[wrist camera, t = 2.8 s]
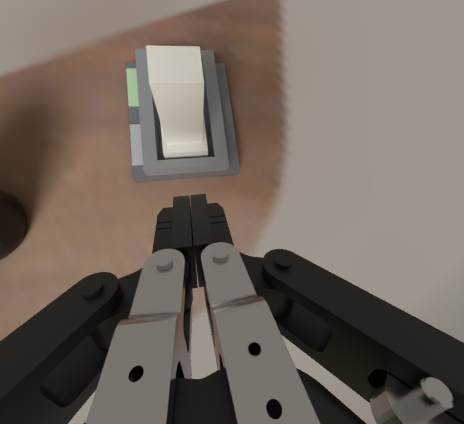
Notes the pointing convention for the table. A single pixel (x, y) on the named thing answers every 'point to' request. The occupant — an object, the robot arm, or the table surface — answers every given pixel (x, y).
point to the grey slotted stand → (149, 128)
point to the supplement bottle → (10, 223)
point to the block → (178, 99)
